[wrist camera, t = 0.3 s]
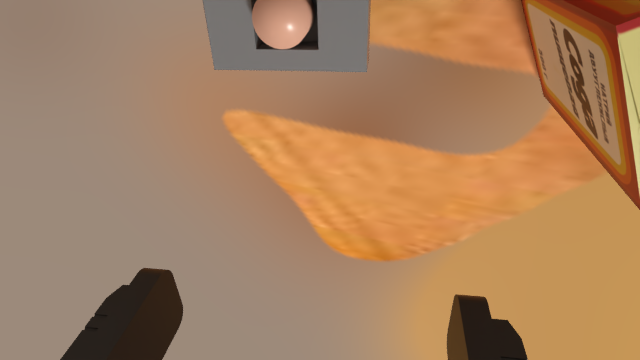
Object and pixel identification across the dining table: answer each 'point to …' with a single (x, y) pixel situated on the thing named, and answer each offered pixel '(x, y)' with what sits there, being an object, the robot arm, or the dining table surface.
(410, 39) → the dining table surface
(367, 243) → the dining table surface
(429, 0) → the dining table surface
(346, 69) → the button console
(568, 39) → the baking soda box
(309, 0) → the terracotta button
